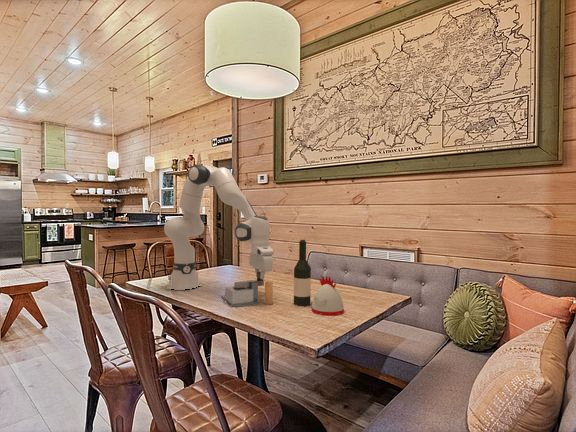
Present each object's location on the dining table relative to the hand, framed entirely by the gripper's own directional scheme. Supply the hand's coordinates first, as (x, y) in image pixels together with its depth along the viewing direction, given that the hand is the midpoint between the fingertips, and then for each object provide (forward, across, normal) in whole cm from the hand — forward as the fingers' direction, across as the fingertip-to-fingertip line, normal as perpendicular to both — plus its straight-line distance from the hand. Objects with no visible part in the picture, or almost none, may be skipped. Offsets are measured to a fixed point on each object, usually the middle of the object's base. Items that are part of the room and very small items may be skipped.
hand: (260, 278), depth 165 cm
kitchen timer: (+11, +29, +20) cm, 37 cm away
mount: (+11, -3, -9) cm, 14 cm away
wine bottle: (+11, +14, +16) cm, 24 cm away
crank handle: (+3, 0, -6) cm, 7 cm away
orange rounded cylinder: (+11, +7, +2) cm, 13 cm away
